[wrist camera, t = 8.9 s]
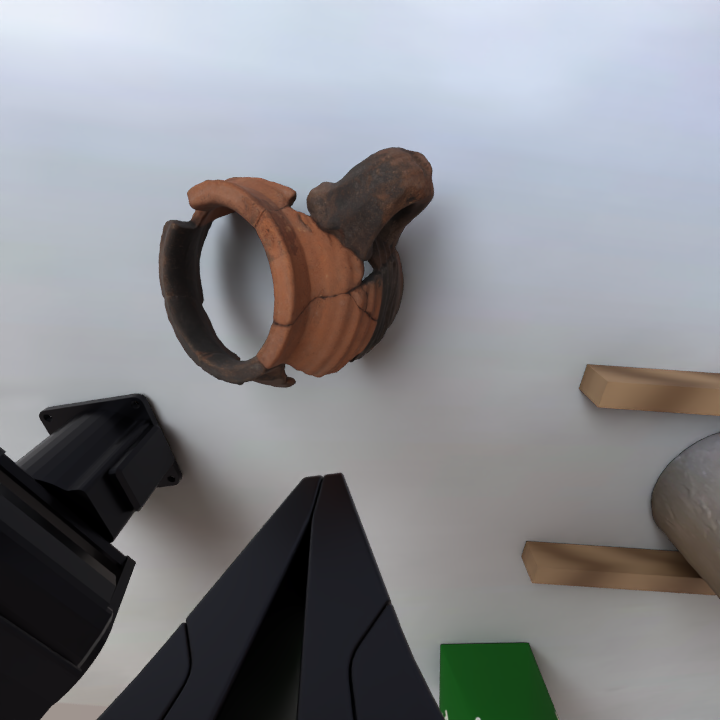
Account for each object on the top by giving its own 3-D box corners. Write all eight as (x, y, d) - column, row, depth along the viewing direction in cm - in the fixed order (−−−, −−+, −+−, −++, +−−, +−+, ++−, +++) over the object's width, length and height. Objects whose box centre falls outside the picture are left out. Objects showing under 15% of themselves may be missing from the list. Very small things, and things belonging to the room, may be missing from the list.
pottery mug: (340, 388, 23) (228, 447, 16) (253, 263, 24) (114, 269, 17) (515, 243, 16) (452, 238, 9) (383, 81, 17) (242, -29, 11)
